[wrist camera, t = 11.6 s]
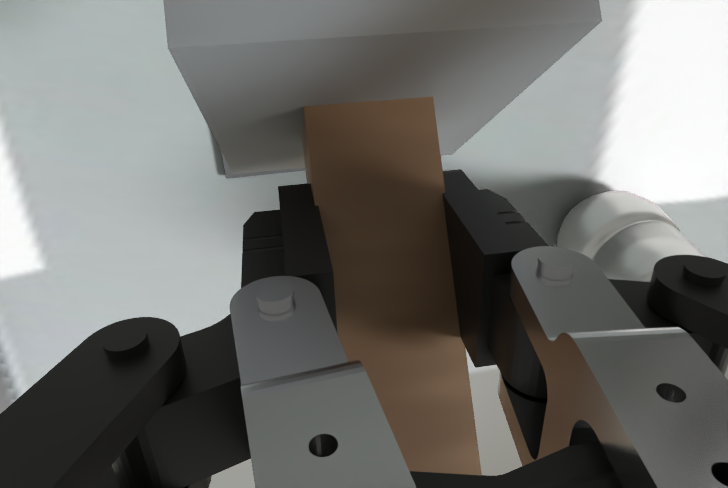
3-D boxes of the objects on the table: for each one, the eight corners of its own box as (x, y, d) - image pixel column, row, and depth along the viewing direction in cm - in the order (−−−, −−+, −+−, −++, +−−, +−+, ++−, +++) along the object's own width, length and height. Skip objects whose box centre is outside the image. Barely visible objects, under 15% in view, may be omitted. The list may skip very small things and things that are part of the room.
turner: (591, -46, 8) (690, 603, 8) (447, 119, 16) (490, 446, 16) (160, -27, 8) (230, 694, 7) (229, 137, 16) (264, 481, 15)
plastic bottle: (605, 281, 39) (877, 566, 22) (524, 252, 37) (757, 542, 20) (664, 200, 37) (1023, 448, 20) (581, 163, 35) (904, 406, 17)
